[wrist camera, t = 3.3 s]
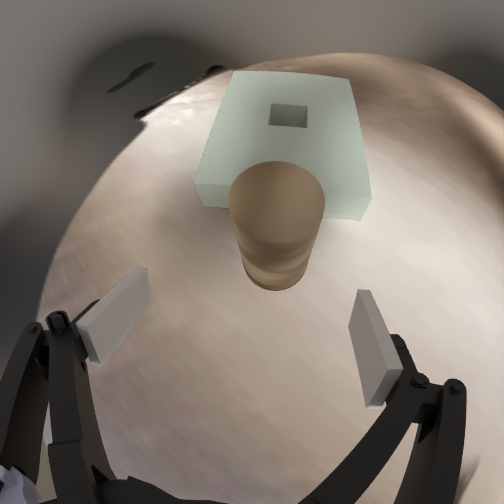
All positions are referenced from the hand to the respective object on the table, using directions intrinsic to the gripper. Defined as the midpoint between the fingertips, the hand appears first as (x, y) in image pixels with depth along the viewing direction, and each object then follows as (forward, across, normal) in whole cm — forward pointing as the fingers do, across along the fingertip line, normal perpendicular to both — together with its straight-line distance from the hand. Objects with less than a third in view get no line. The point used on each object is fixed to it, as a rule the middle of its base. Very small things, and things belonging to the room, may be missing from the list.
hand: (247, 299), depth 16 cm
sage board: (+28, +1, +10) cm, 30 cm away
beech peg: (+13, +1, -5) cm, 14 cm away
